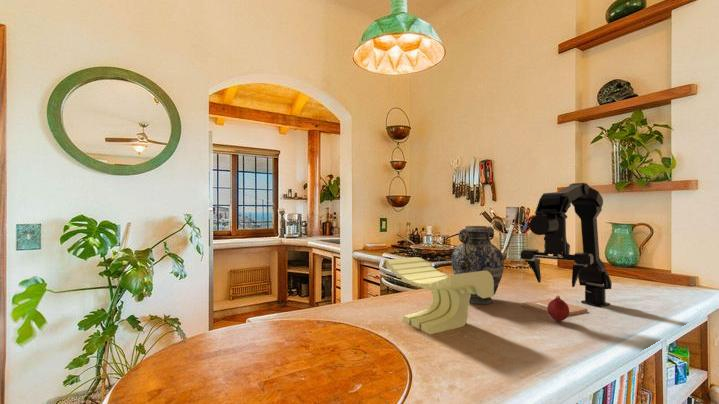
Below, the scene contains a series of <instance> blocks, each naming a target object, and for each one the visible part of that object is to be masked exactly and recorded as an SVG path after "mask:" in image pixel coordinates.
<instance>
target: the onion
mask: <svg viewBox="0 0 719 404" xmlns="http://www.w3.org/2000/svg"><path fill="white" fill-rule="evenodd" d="M566 303H567V302H566V301H564V300H563V299H561V296H560V295H555V298H553V300H552V301H550V303H549V304H548V307H547V310H548V313H549V314H548V315H549V316H550V318H552V320H554V321H555V322H557V323H561V322H563V321H565V320H566V319H567V318H568V317H569V316H570V315H569V307H568V305H567V304H568V303H567V304H566Z"/></svg>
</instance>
